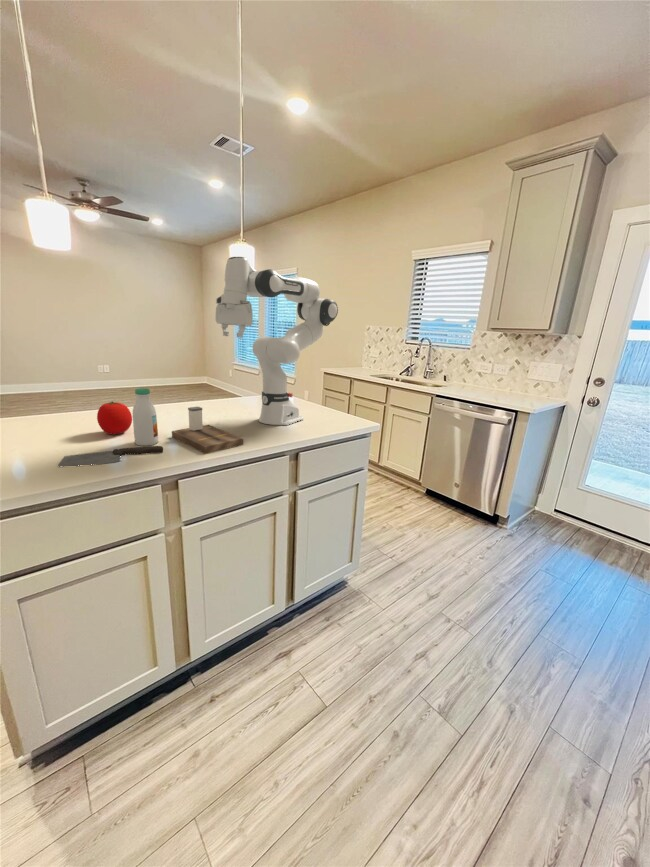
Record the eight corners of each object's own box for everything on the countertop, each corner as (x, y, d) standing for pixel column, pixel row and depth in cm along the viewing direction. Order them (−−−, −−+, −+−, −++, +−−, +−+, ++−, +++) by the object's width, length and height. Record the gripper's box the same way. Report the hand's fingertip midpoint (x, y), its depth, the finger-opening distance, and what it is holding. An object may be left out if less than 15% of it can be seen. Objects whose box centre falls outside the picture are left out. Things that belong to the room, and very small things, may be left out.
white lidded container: (198, 427, 143) (197, 406, 140) (203, 428, 141) (202, 407, 138) (189, 428, 140) (188, 407, 137) (193, 430, 138) (192, 409, 135)
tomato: (111, 428, 144) (107, 397, 140) (139, 430, 144) (136, 399, 140) (90, 437, 132) (86, 404, 128) (121, 439, 132) (117, 406, 128)
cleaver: (162, 448, 126) (161, 443, 125) (165, 457, 118) (165, 452, 117) (60, 460, 112) (59, 453, 111) (56, 471, 104) (55, 464, 103)
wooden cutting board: (208, 430, 149) (208, 424, 149) (243, 444, 135) (243, 438, 134) (172, 437, 138) (171, 430, 137) (205, 453, 123) (205, 446, 122)
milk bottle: (149, 447, 125) (144, 391, 120) (130, 444, 127) (124, 389, 121) (163, 441, 133) (159, 388, 127) (144, 438, 134) (140, 386, 128)
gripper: (258, 302, 135) (254, 339, 138) (226, 302, 147) (224, 336, 150) (244, 299, 130) (241, 337, 133) (213, 299, 143) (211, 334, 146)
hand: (232, 336), depth 142 cm, fingers open, 8 cm apart
